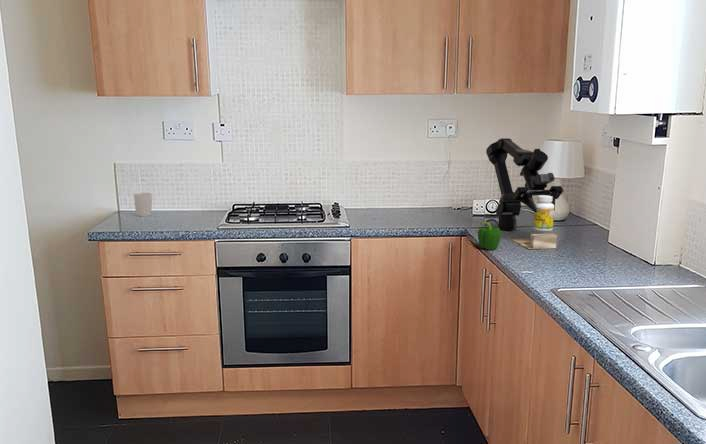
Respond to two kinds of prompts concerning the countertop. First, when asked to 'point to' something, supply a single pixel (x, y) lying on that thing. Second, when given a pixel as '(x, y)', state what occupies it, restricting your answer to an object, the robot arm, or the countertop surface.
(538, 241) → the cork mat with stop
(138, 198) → the white cup
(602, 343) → the countertop surface
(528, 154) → the robot arm
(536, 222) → the supplement bottle
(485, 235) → the bell pepper
